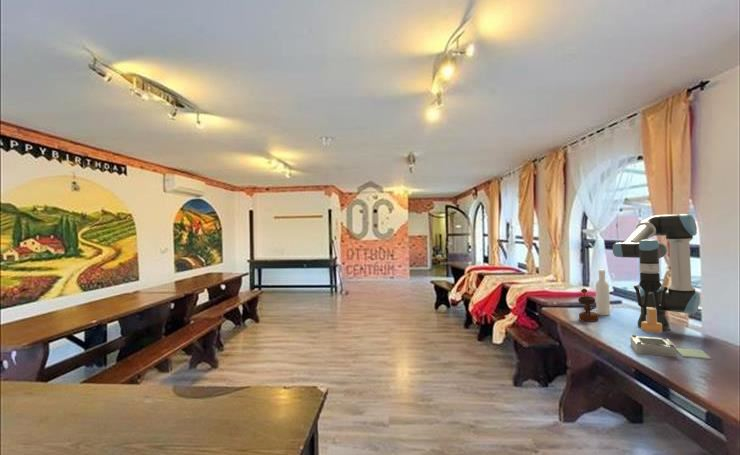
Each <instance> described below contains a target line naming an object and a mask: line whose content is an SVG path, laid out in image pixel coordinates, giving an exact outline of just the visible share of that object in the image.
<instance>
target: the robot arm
mask: <svg viewBox="0 0 740 455" xmlns="http://www.w3.org/2000/svg"><path fill="white" fill-rule="evenodd" d="M697 230H698V229H697V223H696V220H695V218H694V216H693V215H692V214H689V213H688V214H687V213H677V214H657V215H652V216H650V217H647V218H645V219H643V220H642V221H640V222H639V223H638V224H637V226H636V227H635V230H633V231H632V233H631V234H630V235H629V236H628V237H626V239H624V240H623V242H615V243H613V245H612V254H613V256H614V257H616V258H623V259H624V258H629V259H630V258H631V259H633V258H634V259H636V258H637V259H639V271H640V274H639V278H640V279H639V283H638V284H637V285H633V289H634V290H635V295H636V301H637V306H639V307H640V314H639V317H638V320H637V327H638V328H640V329H642V328H641V322H643V321H646V322H649V309H648V308H647V307H653V308H654V309H655V310H656V323H657V322H658V323H661V324H662V331H670V329H671V325H670V322H669V321H668V317H667V312H674V313H680V314H696V313H697V311H698V310H699V306H700V301H701V294H700V293H699V292H697V291H696V288H695V287H694V286H693V285H692V272H691V271H692V270H691V268H692V266H691V250H690V248H691V246H690V242H691V241H692V240H693V239H694V238H693V237H694V236H696V235H697V233H698V232H697ZM654 236H658V237H659V236H665V239H666V241H668V242H669V256H670V257H669V258H670V260H669V261H670V278H671V285H669V286H664V285H662V283H661V279H660V278H661V277H660V276H661V274H660V273H659V272H660V259H661V258H664V257H665V256H666V255H667V253H668V248H667V246H666V244H664V243H661V242H659V241H658V240H657V239H650V238H653V237H654Z"/></svg>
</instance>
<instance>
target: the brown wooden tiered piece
mask: <svg viewBox="0 0 740 455" xmlns="http://www.w3.org/2000/svg"><path fill="white" fill-rule="evenodd" d="M580 292H581V293H582V294H583V296H579V297H578V303H579V304H581V305H584V307H583V310H584V311H581V312H580V313H578V317H579V318H578V319H579V320H580V319H581V320H580V321H582V320H584V321H583V322H596V321H599V315H598V314H597V312H593V311H592V310H596V308H595V307H594V306H593V307H590V305H593V304H595V303H596V297H594V296H590V295H586V293H588V289H586V287H585V288H582V289H581V290H580Z"/></svg>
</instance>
